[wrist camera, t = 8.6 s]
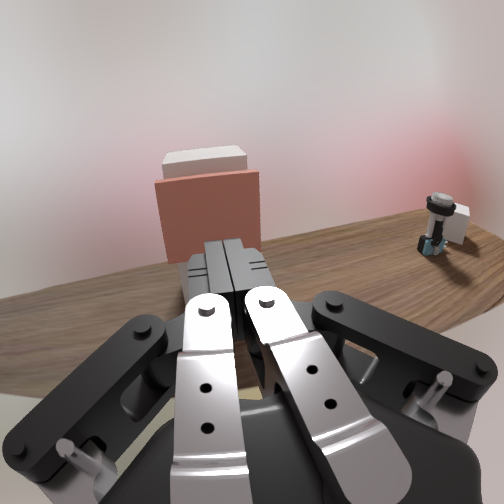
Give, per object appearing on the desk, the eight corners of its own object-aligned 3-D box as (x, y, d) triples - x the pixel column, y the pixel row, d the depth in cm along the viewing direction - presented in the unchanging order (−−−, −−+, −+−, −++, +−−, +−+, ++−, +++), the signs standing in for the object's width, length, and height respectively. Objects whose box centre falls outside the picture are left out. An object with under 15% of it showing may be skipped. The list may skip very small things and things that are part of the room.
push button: (436, 242, 46) (447, 190, 41) (454, 256, 41) (468, 201, 36) (410, 246, 45) (421, 190, 40) (428, 261, 41) (442, 202, 36)
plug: (260, 252, 29) (258, 171, 25) (168, 264, 28) (154, 183, 24) (247, 221, 35) (244, 156, 31) (172, 231, 34) (162, 165, 30)
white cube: (462, 234, 49) (468, 207, 46) (462, 245, 45) (469, 216, 42) (437, 226, 52) (442, 199, 49) (434, 236, 48) (441, 207, 45)
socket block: (252, 299, 35) (246, 155, 27) (186, 308, 34) (161, 164, 26) (242, 268, 41) (236, 144, 33) (185, 275, 40) (167, 152, 32)
